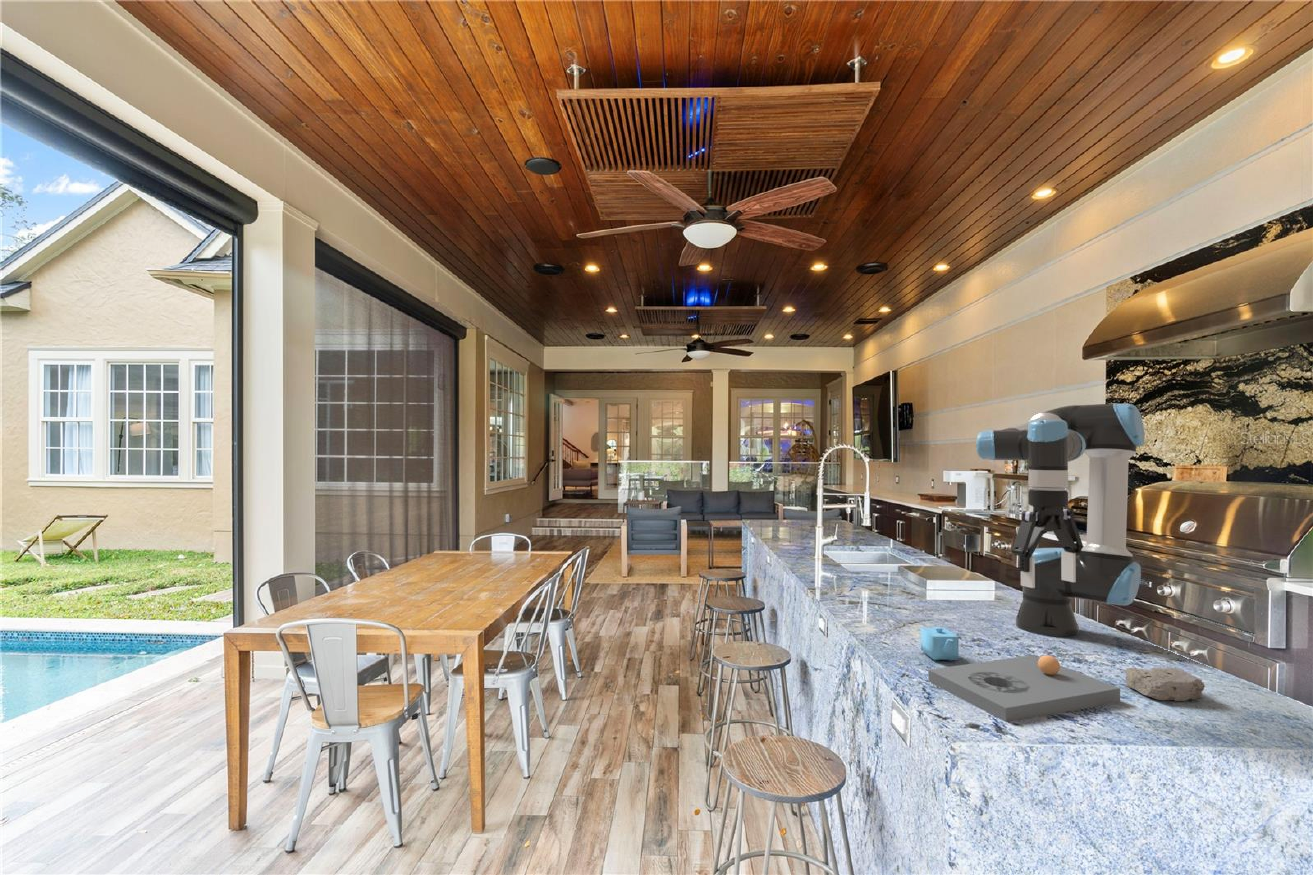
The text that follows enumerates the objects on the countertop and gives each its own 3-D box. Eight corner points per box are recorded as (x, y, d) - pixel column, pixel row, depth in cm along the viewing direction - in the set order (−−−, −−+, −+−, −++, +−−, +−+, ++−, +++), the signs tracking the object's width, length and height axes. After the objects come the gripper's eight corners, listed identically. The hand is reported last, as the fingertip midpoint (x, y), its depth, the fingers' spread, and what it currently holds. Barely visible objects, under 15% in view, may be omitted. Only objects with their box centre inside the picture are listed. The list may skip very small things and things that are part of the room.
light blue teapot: (965, 668, 141) (965, 636, 141) (939, 668, 141) (939, 636, 142) (942, 651, 153) (942, 621, 153) (918, 650, 153) (918, 621, 153)
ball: (1047, 669, 133) (1047, 651, 133) (1064, 676, 129) (1064, 657, 129) (1033, 671, 131) (1033, 653, 131) (1050, 678, 127) (1050, 659, 128)
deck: (1032, 667, 142) (1032, 655, 142) (1120, 703, 123) (1120, 688, 123) (928, 683, 133) (928, 669, 133) (1005, 724, 114) (1005, 708, 114)
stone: (1114, 684, 131) (1160, 706, 121) (1117, 658, 131) (1164, 678, 121) (1164, 685, 133) (1213, 708, 123) (1167, 660, 133) (1217, 680, 123)
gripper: (1067, 486, 143) (1068, 575, 143) (993, 489, 133) (993, 585, 133) (1101, 488, 136) (1101, 582, 136) (1025, 491, 126) (1026, 593, 126)
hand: (1048, 583), depth 134 cm, fingers open, 13 cm apart
